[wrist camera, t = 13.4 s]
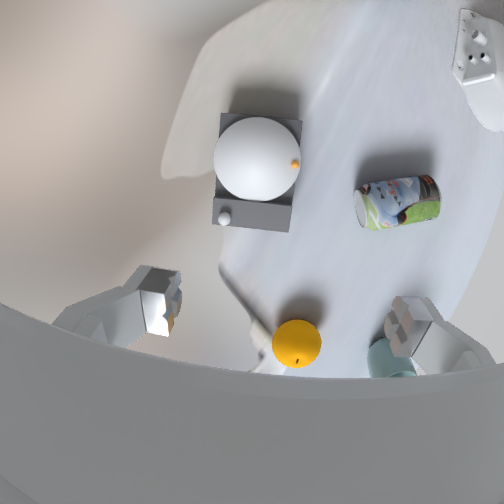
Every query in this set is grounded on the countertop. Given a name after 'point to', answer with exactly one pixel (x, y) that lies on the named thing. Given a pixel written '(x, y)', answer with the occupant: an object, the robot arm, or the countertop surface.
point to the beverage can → (397, 202)
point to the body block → (256, 171)
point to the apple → (296, 343)
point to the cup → (387, 362)
